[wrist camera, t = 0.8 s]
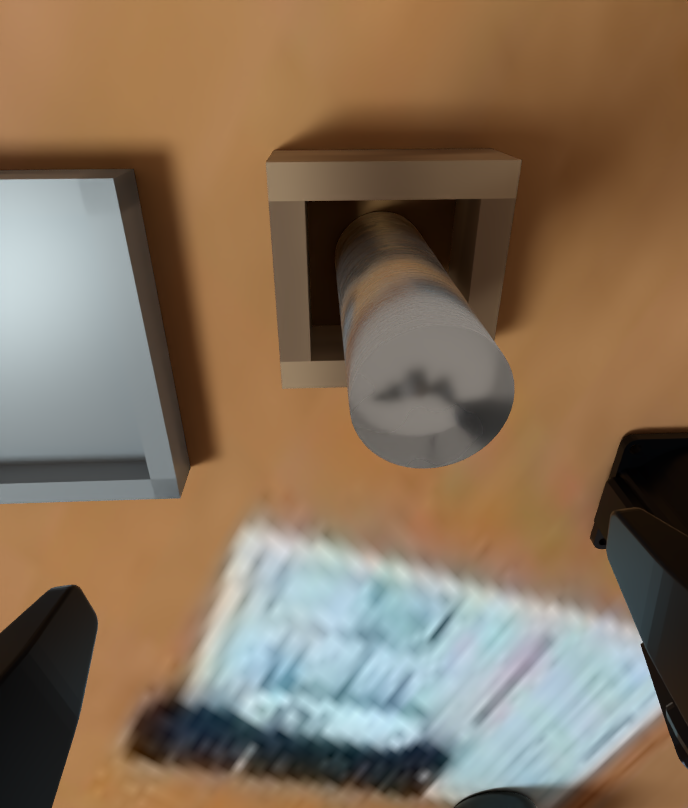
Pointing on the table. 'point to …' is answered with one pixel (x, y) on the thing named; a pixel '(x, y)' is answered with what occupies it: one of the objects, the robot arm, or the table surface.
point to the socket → (384, 180)
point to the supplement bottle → (497, 801)
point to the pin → (414, 349)
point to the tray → (82, 345)
